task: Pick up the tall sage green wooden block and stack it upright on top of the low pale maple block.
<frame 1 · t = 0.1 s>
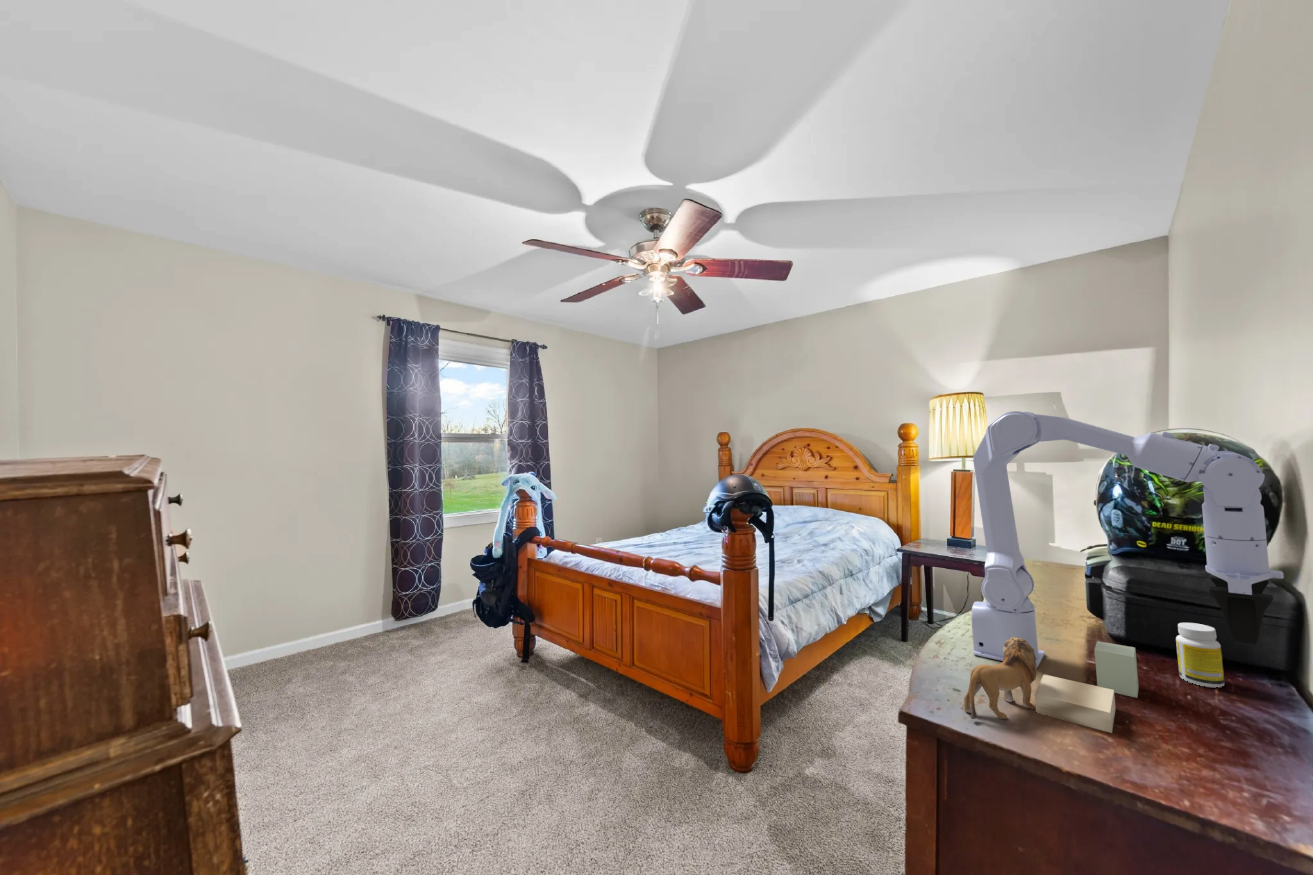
hand: (1243, 634, 69), 10 cm above the dresser, tool pointing down, fingers open, 7 cm apart
supplement bottle: (1201, 682, 76), on the dresser
pale maple block: (1076, 713, 70), on the dresser
sage green block: (1118, 688, 76), on the dresser
lion figurine: (1002, 707, 73), on the dresser
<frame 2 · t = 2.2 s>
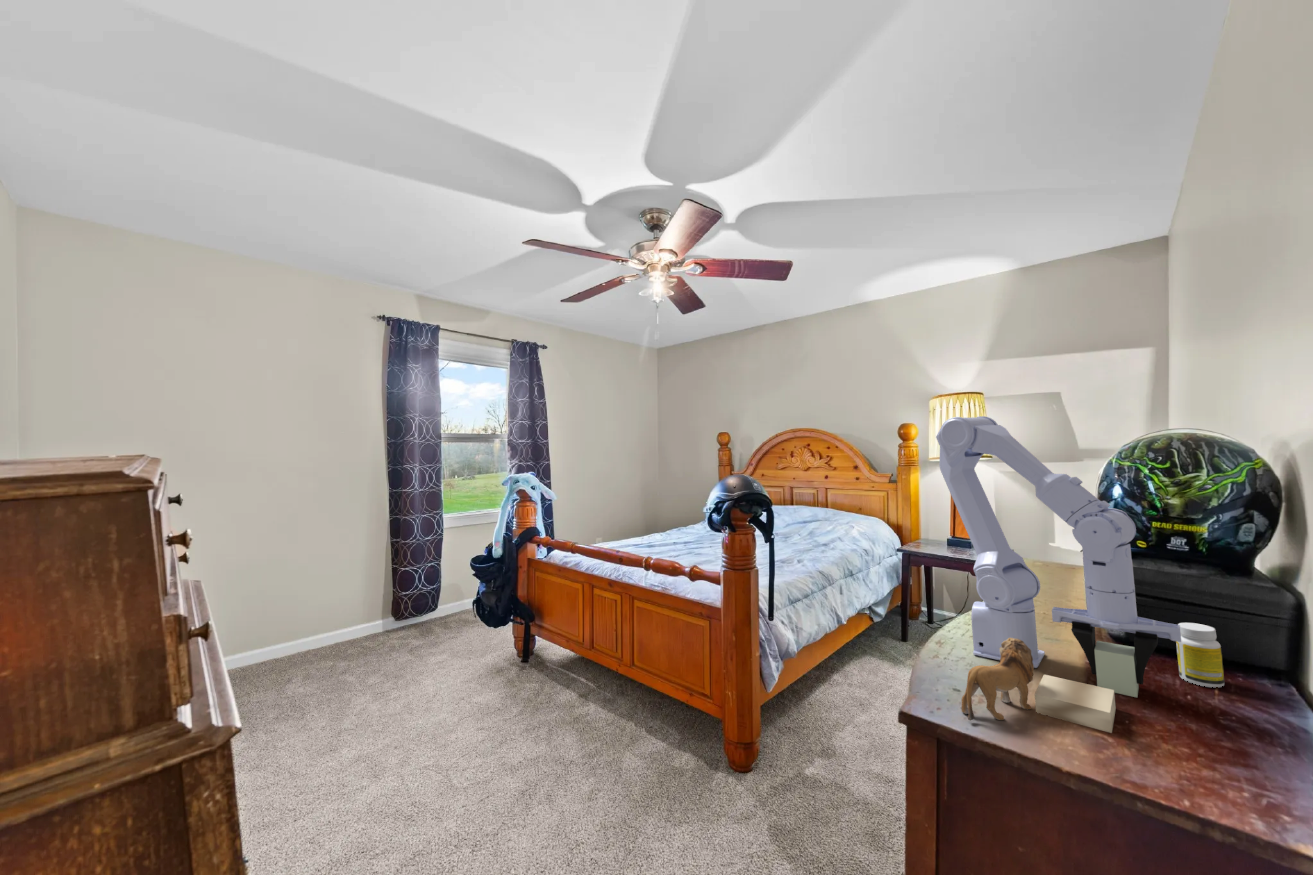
hand: (1117, 676, 76), 2 cm above the dresser, tool pointing down, fingers closed on sage green block, 4 cm apart
sage green block: (1118, 687, 76), on the dresser, touching gripper
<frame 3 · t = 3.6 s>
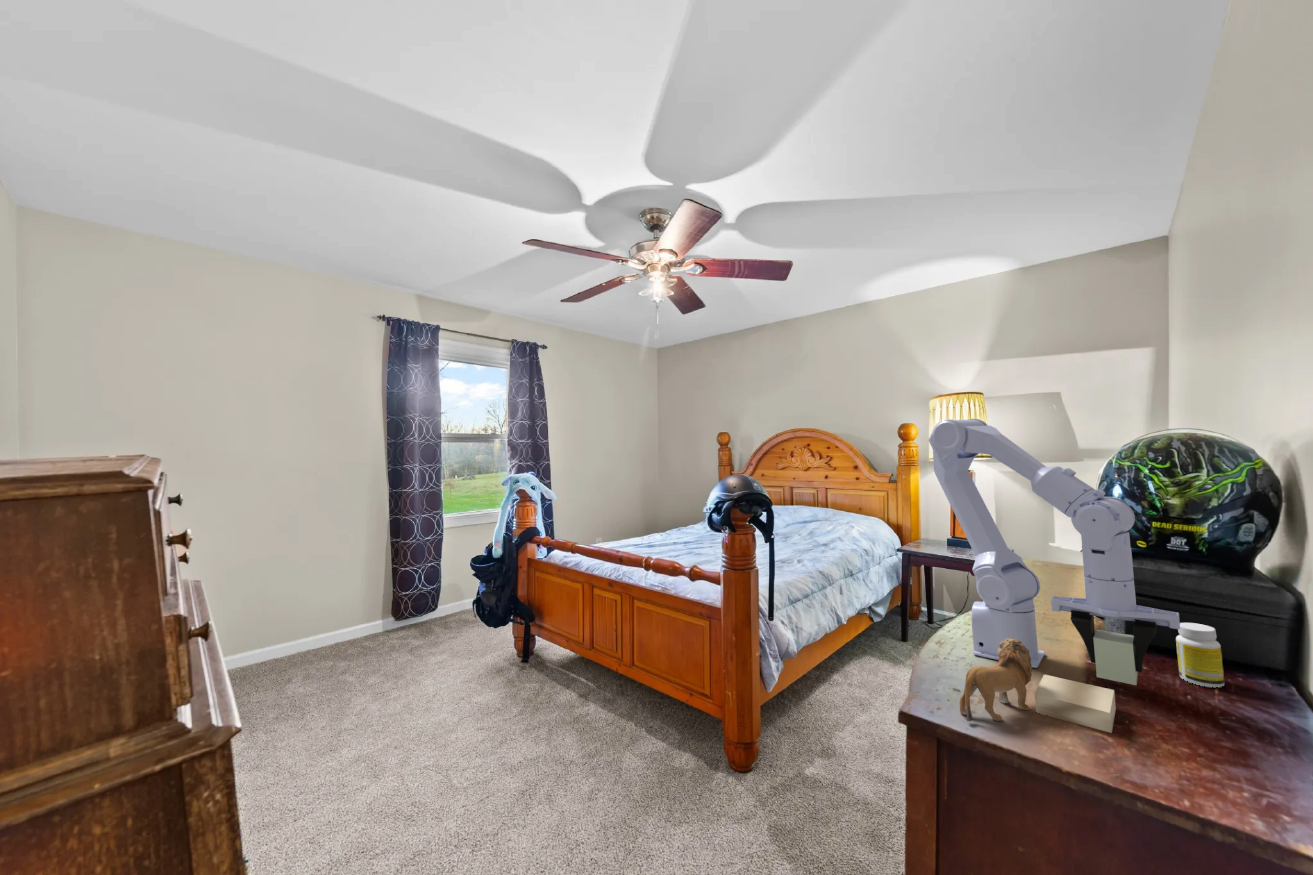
hand: (1116, 665, 76), 3 cm above the dresser, tool pointing down, fingers closed on sage green block, 4 cm apart
sage green block: (1117, 675, 76), point 2 cm above the dresser, touching gripper
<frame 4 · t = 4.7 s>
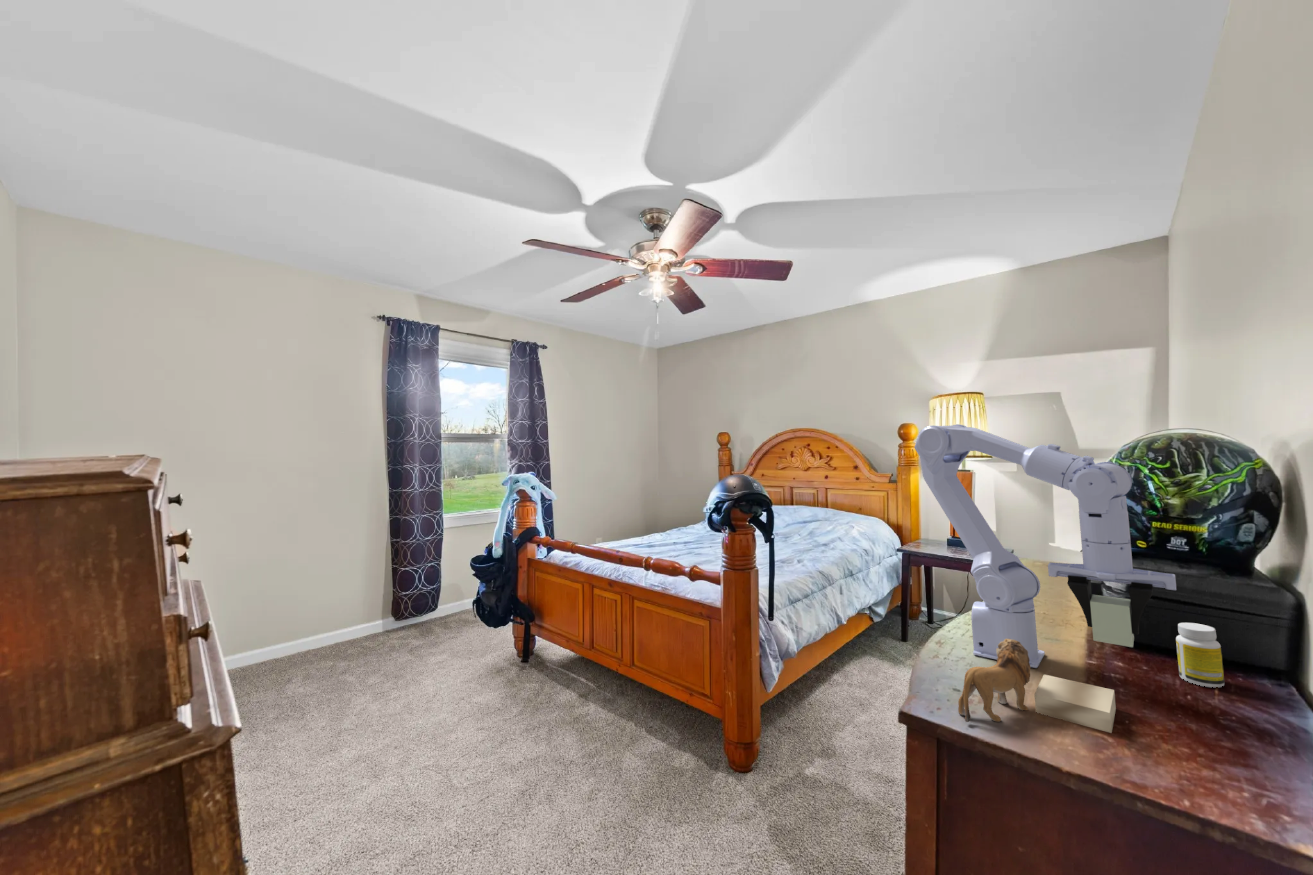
hand: (1112, 628, 76), 9 cm above the dresser, tool pointing down, fingers closed on sage green block, 4 cm apart
sage green block: (1113, 639, 76), point 7 cm above the dresser, touching gripper
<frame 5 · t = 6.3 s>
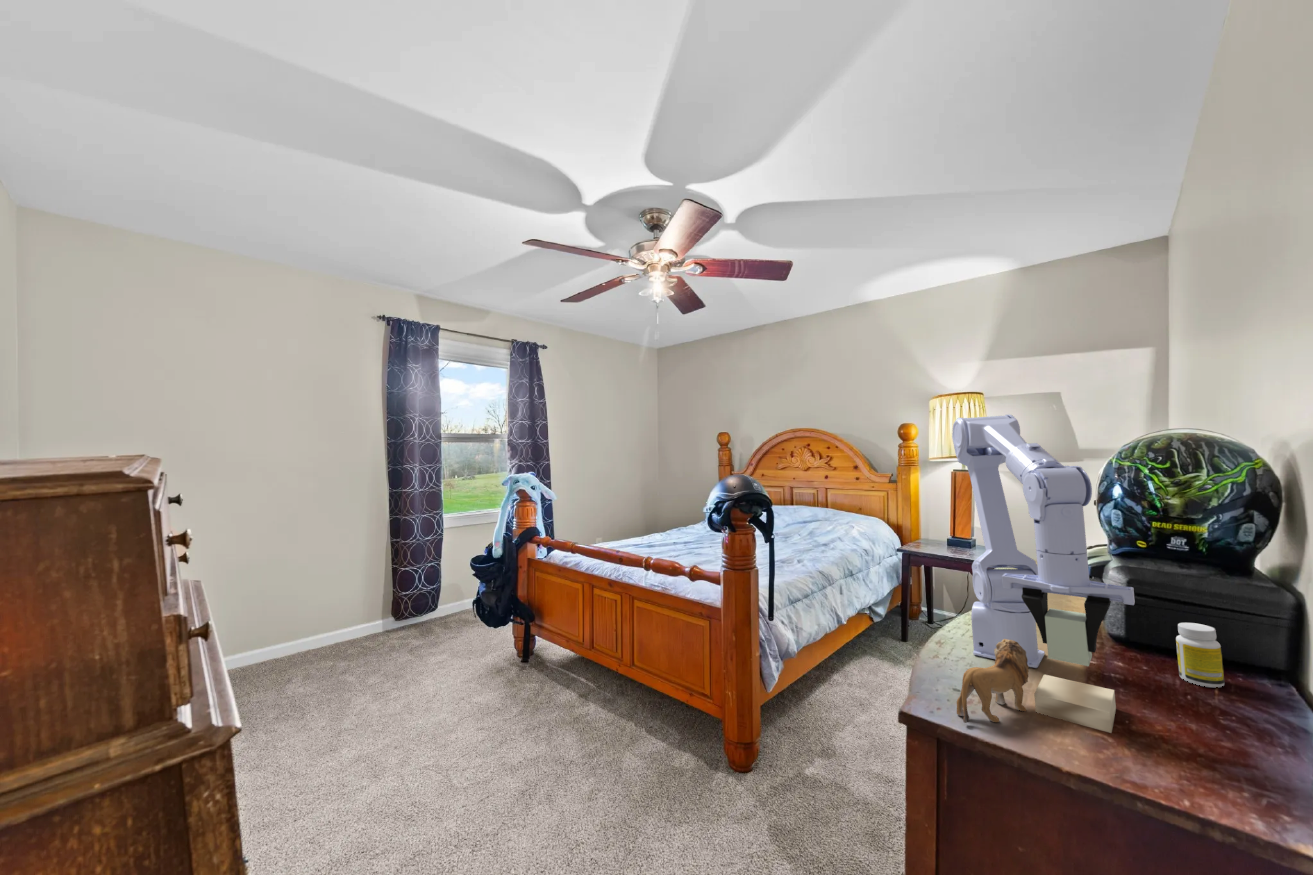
hand: (1068, 645, 71), 9 cm above the dresser, tool pointing down, fingers closed on sage green block, 4 cm apart
sage green block: (1070, 657, 71), point 7 cm above the dresser, touching gripper
when the fingers open (6 cm above the dresser, at t = 7.4 s): sage green block drops 2 cm, resting on pale maple block.
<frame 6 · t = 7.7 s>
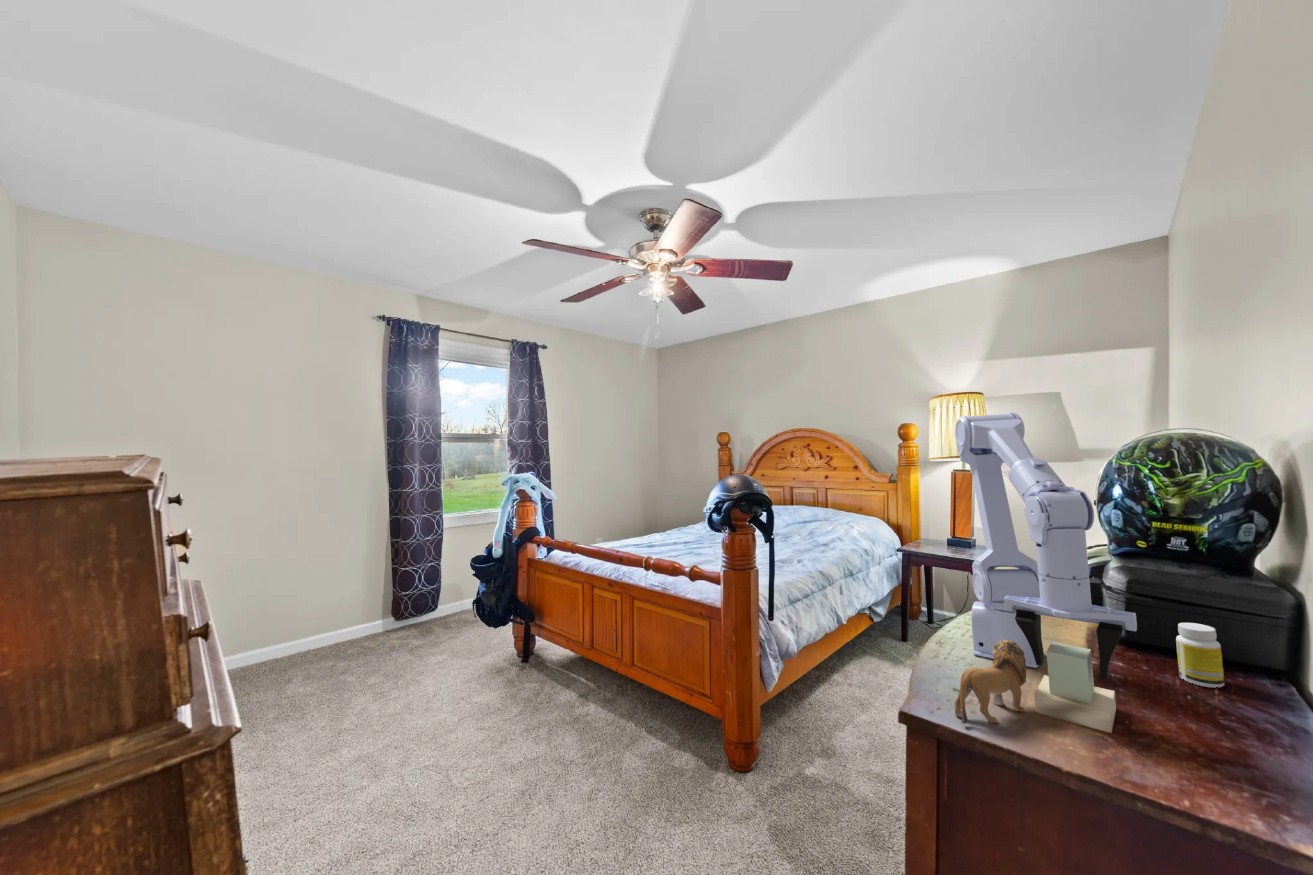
hand: (1071, 669, 71), 6 cm above the dresser, tool pointing down, fingers open, 6 cm apart
pale maple block: (1076, 713, 70), on the dresser, touching sage green block
sage green block: (1072, 692, 71), point 2 cm above the dresser, touching pale maple block
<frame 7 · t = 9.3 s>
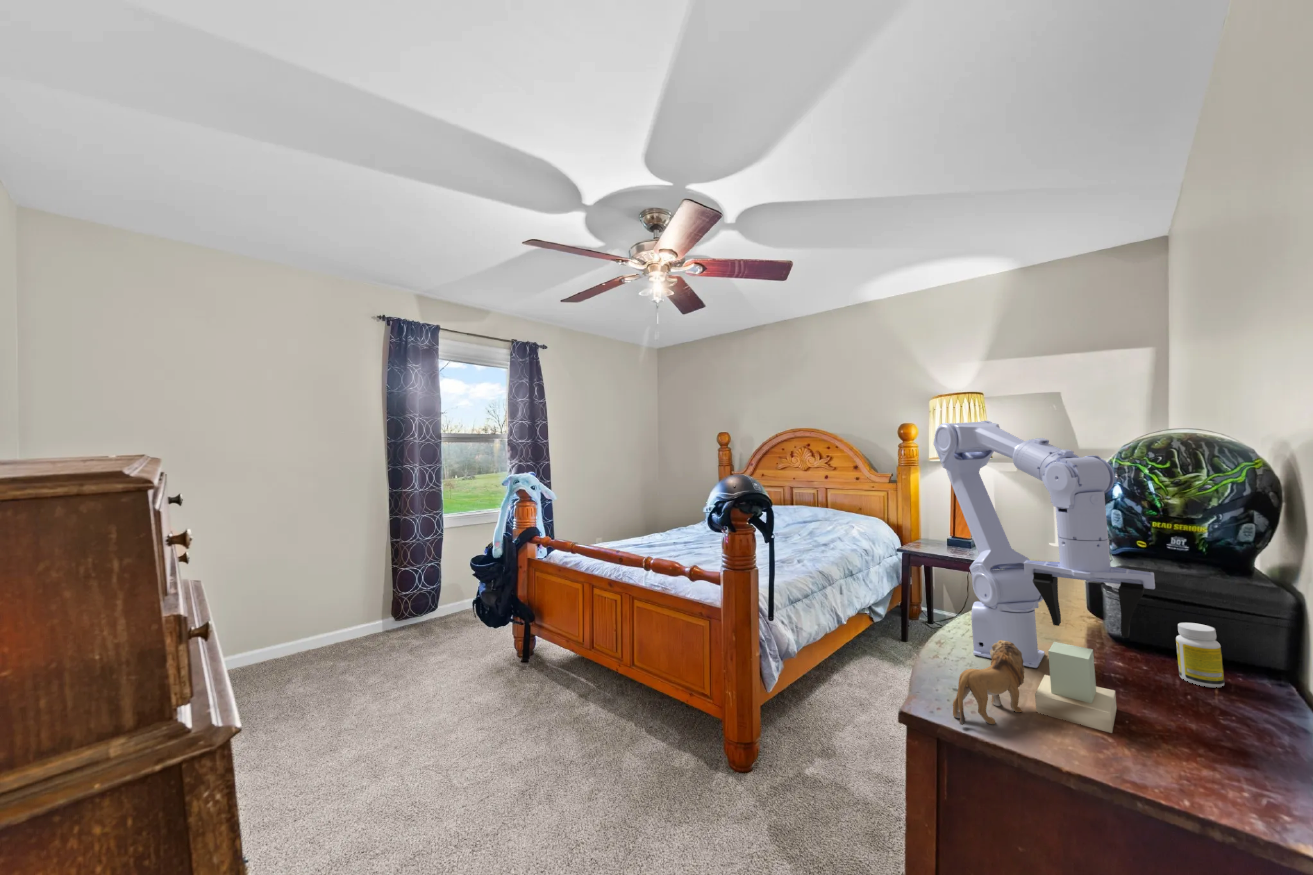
hand: (1089, 629, 73), 10 cm above the dresser, tool pointing down, fingers open, 7 cm apart
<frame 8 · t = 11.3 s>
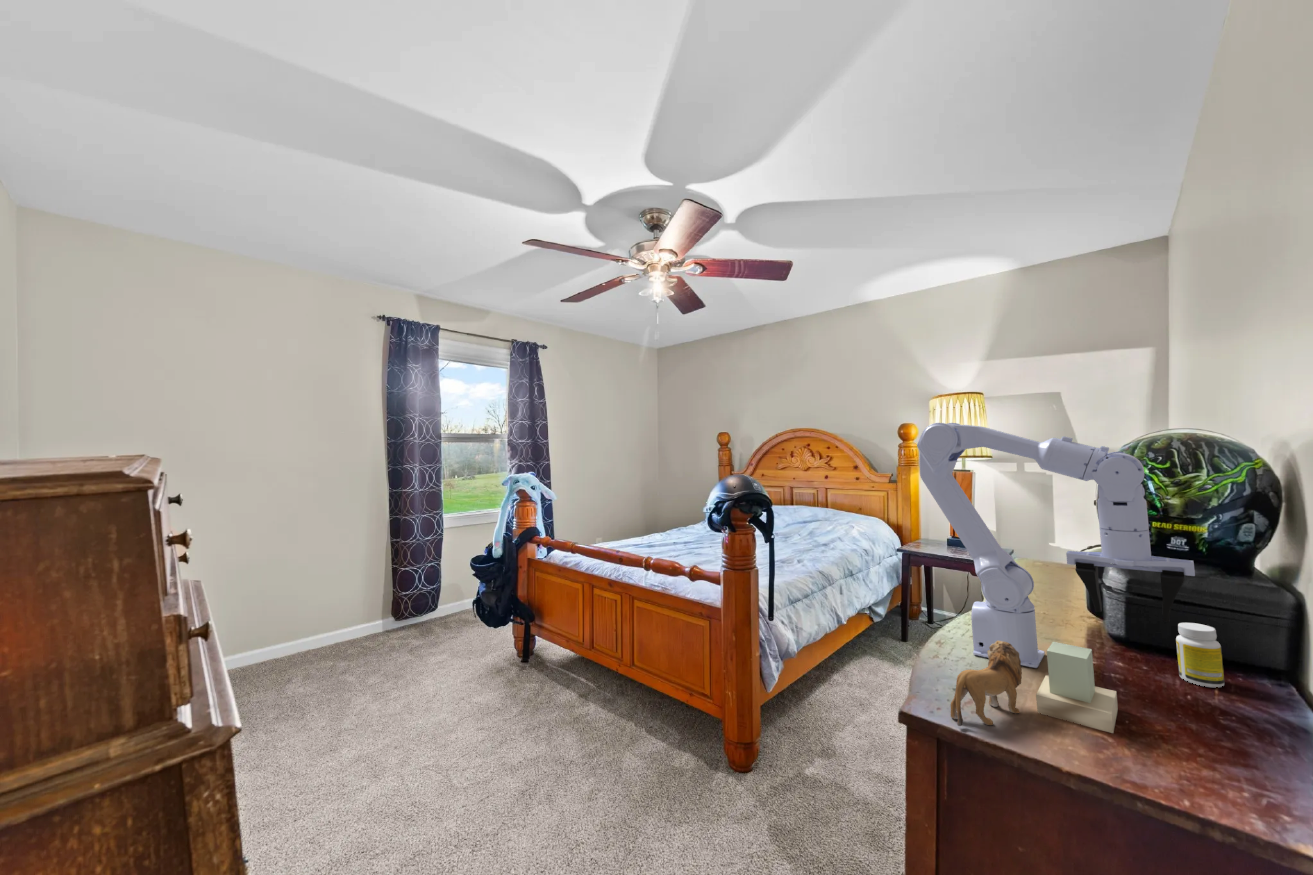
hand: (1131, 615, 78), 10 cm above the dresser, tool pointing down, fingers open, 7 cm apart
at the end: sage green block 0.3 cm off-centre on the pale maple block, point 3.0 cm above the pale maple block's base; sage green block tilted 1°; the gripper is holding nothing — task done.
